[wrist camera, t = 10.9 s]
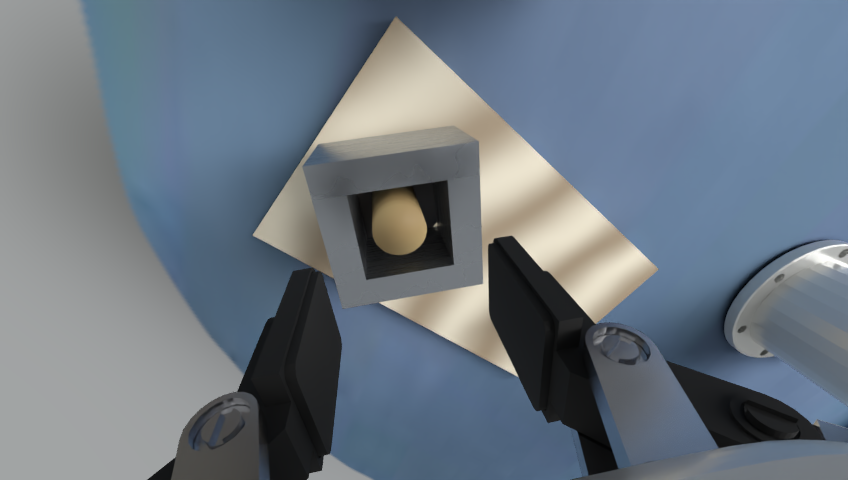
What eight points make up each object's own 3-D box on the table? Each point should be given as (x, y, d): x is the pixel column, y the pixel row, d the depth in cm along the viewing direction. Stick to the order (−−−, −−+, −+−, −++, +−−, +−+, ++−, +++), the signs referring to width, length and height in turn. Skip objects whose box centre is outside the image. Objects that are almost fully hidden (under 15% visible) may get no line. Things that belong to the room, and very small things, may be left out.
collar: (453, 125, 17) (479, 141, 13) (461, 242, 20) (483, 283, 16) (318, 144, 17) (302, 166, 13) (348, 261, 20) (342, 308, 16)
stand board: (647, 261, 26) (727, 316, 20) (522, 371, 30) (560, 444, 24) (394, 19, 17) (407, -10, 11) (258, 226, 20) (213, 289, 14)
